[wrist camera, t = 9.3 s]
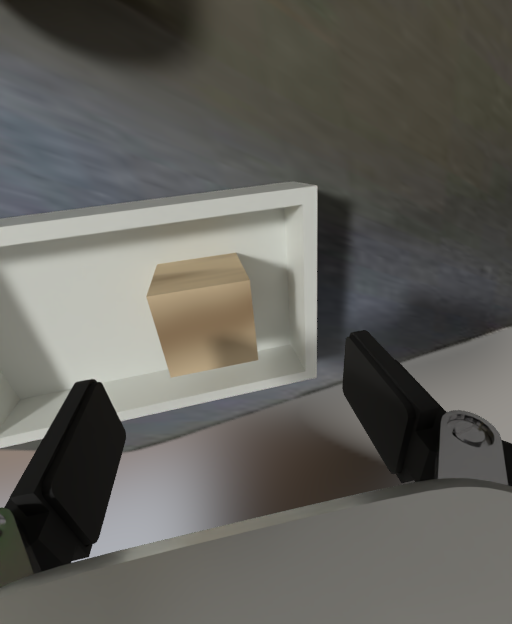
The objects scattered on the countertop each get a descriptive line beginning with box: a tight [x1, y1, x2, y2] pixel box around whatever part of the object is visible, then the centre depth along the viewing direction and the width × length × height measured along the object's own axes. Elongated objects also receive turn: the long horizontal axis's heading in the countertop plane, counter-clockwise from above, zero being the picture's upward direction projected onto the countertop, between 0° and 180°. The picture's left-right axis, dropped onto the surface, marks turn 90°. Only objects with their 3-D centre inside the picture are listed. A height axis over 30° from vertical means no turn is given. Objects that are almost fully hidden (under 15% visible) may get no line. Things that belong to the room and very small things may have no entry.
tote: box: [0, 181, 317, 448], centre depth 18 cm, size 22×13×4 cm, turn 96°
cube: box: [146, 253, 258, 378], centre depth 17 cm, size 5×5×5 cm
